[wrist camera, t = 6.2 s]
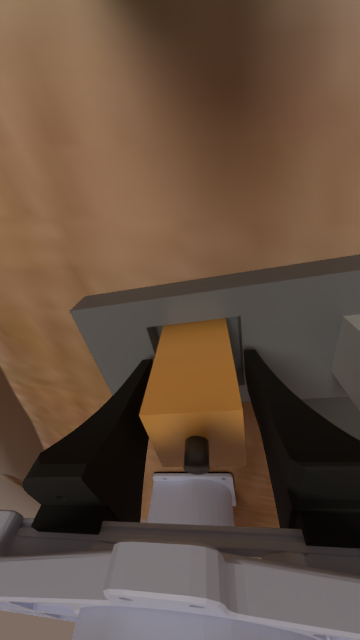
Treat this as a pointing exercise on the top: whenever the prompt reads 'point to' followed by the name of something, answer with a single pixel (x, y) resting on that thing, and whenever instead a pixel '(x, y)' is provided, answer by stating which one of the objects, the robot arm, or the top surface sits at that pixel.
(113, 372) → the grey panel with knob
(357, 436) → the mat
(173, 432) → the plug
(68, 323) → the top surface
